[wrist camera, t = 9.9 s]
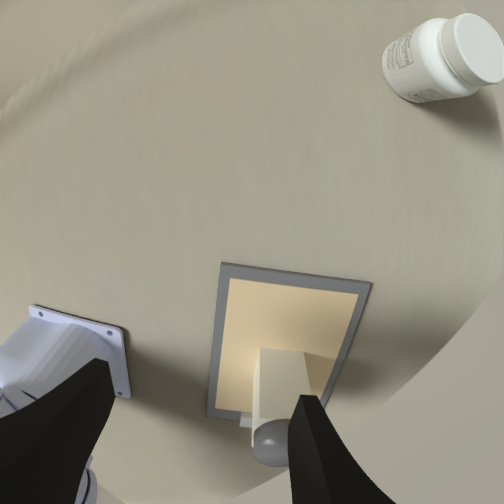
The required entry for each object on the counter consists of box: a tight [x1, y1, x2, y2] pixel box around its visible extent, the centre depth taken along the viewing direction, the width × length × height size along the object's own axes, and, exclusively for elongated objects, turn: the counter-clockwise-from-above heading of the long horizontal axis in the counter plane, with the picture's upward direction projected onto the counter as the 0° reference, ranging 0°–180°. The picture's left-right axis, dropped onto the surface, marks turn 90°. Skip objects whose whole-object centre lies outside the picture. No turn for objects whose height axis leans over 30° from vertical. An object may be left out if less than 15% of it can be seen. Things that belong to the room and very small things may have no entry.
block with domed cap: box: [252, 347, 311, 467], centre depth 18 cm, size 3×3×8 cm
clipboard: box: [206, 262, 371, 428], centre depth 22 cm, size 10×15×1 cm, turn 172°
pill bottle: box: [382, 13, 504, 103], centre depth 11 cm, size 4×4×8 cm
